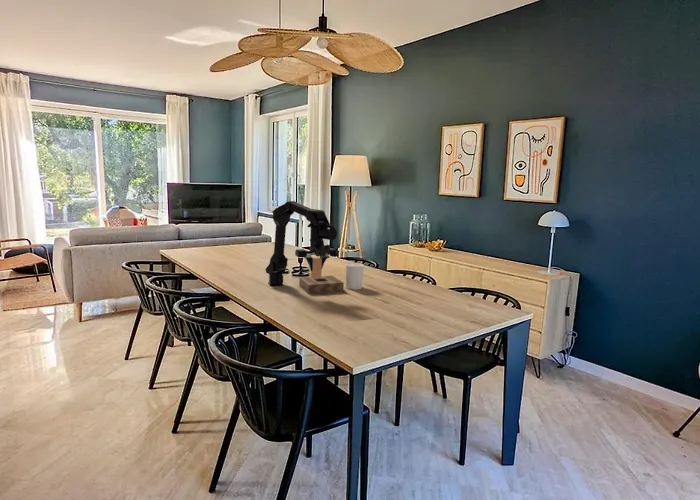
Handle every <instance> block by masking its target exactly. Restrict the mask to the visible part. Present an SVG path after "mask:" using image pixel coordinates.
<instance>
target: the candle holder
mask: <svg viewBox="0 0 700 500" xmlns="http://www.w3.org/2000/svg"><path fill="white" fill-rule="evenodd" d="M364 268H365V264H364V263H360V262H347V263H345V264H344V272H345V273H344V274H345V275H344V277H345V278H344V279H345V288H346V289H347V290H357V291H358V290H361V289H362V288H363V279H364Z"/></svg>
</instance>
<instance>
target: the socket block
mask: <svg viewBox="0 0 700 500" xmlns="http://www.w3.org/2000/svg"><path fill="white" fill-rule="evenodd" d="M298 280H299V285H298V287H300V288H301V289H302V290H303V291H304V292H306V294H307V295H314V294H328V293H341V292H344V289H345V287H344V284H345V283H344V282H343V281H342V280H341V279H339V278H338V277H336V276H334V275H321V278H317V279H313V278H312V277H311V276H299V279H298Z"/></svg>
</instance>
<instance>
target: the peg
mask: <svg viewBox="0 0 700 500" xmlns="http://www.w3.org/2000/svg"><path fill="white" fill-rule="evenodd" d="M322 269H323V268H322V259H321V258H320V257H312V271H311V270H310V277H312V278H313V279H317V278H321V276H322Z"/></svg>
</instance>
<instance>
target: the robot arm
mask: <svg viewBox="0 0 700 500" xmlns="http://www.w3.org/2000/svg"><path fill="white" fill-rule="evenodd" d="M294 213H296V214H298V215H300V216H303V217H305V219H306V220H307V221H308V222H309V224H307V228H310V238H309V243H310V247H309V250H306V249H304V248H303V249H301V248H300V249H299V248H298V249H295V251H294V253H295V255H294V256H296V257H297V258H304V259H305V260H306V262H307V264H308V267H309V270H310V272H311V271H312V258H313V257H312V256H313V255H315V256H316V257H319V258H321V259H322V269H323V267H324V264H325V263H326V260H328V259H330V256H331V257H337V256H338V251H337V249H336V248H333V247H331V244H325V241H324V240H329V241H334V240H336V238H337V237H338V236H337V235H338V232H337V229H336V227H335V225H334V224H330V220H329V219H328V217H327V214H326V212H325V211H324V210H322V209H317V208H316V209H314V208H311V207H308V206H305V205H303V204H301V203H299V202H297V201H295V200H288V201H286V202H285V203H283V204H281V205H279V206H278V207H275V208H274V209H273V211H272V220H273V222H274V224H275V231H274V232H275V233H274V248H273V254H272V255H271V257H270V259H269V263H268V265H267V266H266V268H265V273H266V274H268V282H267V284H268V285H269V287H274V286H276V287H279V286H284V274H283V273H285V272H286V268H287V266H288V257H286V256H285V244H286V230H287V226H288V224H289V222H290V221H291V216H292V215H294Z"/></svg>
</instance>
